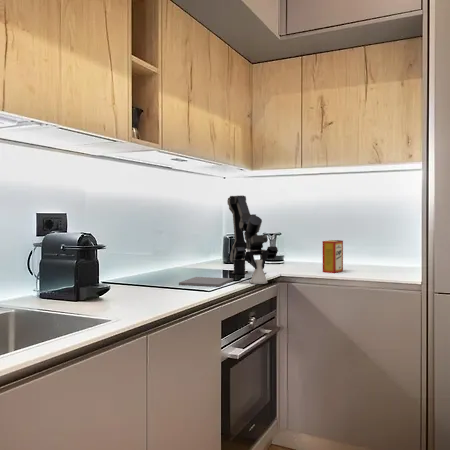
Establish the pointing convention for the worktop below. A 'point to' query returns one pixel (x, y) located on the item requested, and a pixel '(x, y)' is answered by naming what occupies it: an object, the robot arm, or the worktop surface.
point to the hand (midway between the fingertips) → (259, 268)
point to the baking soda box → (332, 256)
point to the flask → (258, 274)
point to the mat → (206, 281)
